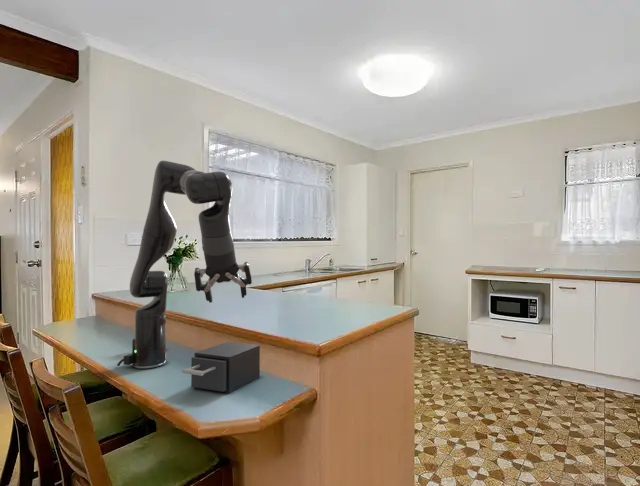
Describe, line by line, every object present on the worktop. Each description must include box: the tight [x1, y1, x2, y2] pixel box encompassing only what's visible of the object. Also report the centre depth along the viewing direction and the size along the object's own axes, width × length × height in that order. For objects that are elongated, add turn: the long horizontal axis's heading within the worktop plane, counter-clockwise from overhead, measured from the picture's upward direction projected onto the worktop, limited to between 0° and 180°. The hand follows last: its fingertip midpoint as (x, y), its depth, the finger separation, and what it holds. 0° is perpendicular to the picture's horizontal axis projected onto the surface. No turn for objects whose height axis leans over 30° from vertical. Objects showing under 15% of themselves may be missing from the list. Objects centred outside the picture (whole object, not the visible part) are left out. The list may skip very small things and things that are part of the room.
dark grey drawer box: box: [194, 341, 261, 394], centre depth 112 cm, size 14×13×10 cm
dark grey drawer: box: [182, 356, 227, 393], centre depth 107 cm, size 18×12×8 cm, turn 161°
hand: (227, 298), depth 103 cm, fingers open, 8 cm apart
